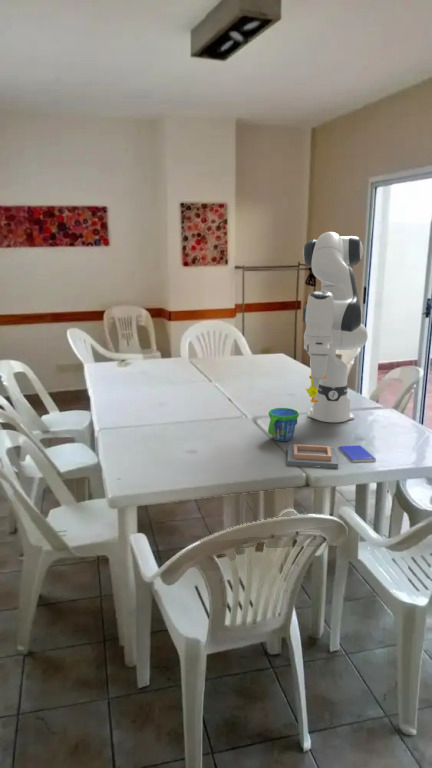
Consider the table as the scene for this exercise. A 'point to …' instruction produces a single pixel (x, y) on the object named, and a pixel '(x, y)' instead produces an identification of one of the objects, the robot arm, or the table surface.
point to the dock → (312, 456)
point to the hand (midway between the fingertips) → (315, 386)
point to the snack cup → (282, 423)
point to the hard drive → (356, 453)
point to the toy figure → (313, 390)
